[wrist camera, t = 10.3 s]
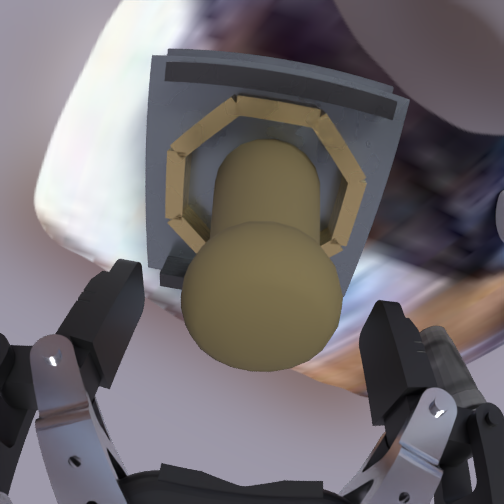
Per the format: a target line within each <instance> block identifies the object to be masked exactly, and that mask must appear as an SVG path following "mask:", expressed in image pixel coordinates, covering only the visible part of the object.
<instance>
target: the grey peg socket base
mask: <svg viewBox="0 0 504 504" xmlns="http://www.w3.org/2000/svg"><path fill="white" fill-rule="evenodd" d="M392 92H393V87H392V86H389V85H386V84H383V83H379V82H376V81H373V80H369V79H366V78H363V77H359V76H355V75H352V74H348V73H344V72H340V71H336V70H332V69H328V68H324V67H319V66H315V65H310V64H305V63H300V62H295V61H289V60H284V59H278V58H272V57H265V56H258V55H250V54H242V53H233V52H222V51H210V50H193V49H168V54H167V56H158V55H152V61H151V72H150V83H149V97H148V113H147V134H146V233H147V255H148V267H149V268H155V269H161V272H160V286H164V287H170V288H175V289H181V290H182V287H183V281H184V276H185V274H186V271H187V269H188V266H189V264H190V263H191V261H192V260H193V258H194V257H195V255H196V254H197V253H198V251H199V250H200V248H201V247H202V246H203V245H204V244H205V243H206V242H207V241H208V240H209V239H210V230H211V218H212V207H213V196H214V186H215V180H216V176H217V172H218V168H219V167H220V165H221V164H222V162H223V161H224V159H225V158H226V156H227V155H228V154H229V153H230V152H232V151H233V150H234V149H236V148H237V147H238V146H240V145H241V144H244V143H247V142H250V141H253V140H256V139H277V140H280V141H284V142H287V143H290V144H292V145H294V146H295V147H297V148H298V149H300V150H301V151H302V152H304V153H305V154H306V155H307V156H308V158H309V159H310V160H311V162H312V163H313V164H314V166H315V167H316V171H317V174H318V177H319V181H320V246H321V247H322V249H323V250H324V251H325V253H326V254H327V255H328V257H329V258H330V259H331V261H332V262H333V264H334V265H335V267H336V271H337V274H338V278H339V282H340V286H341V290H342V295H343V297H344V296H345V293H346V291H347V289H348V286H349V284H350V281H351V279H352V276H353V274H354V271H355V269H356V266H357V264H358V261H359V259H360V256H361V253H362V251H363V248H364V246H365V243H366V240H367V237H368V235H369V232H370V229H371V226H372V224H373V221H374V218H375V215H376V212H377V209H378V206H379V203H380V201H381V198H382V194H383V191H384V188H385V185H386V182H387V179H388V176H389V173H390V169H391V166H392V163H393V159H394V156H395V153H396V149H397V146H398V142H399V139H400V135H401V131H402V128H403V124H404V120H405V116H406V112H407V108H408V104H409V99H406V98H403V97H400V96H397V95H394V94H392Z"/></svg>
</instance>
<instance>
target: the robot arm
mask: <svg viewBox="0 0 504 504" xmlns="http://www.w3.org/2000/svg"><path fill="white" fill-rule="evenodd" d="M144 301H145V296H144V285H143V274H142V265H141V263H140V262H135V261H129V260H124V259H118V260H117V261H116V263H115V264H114V266H113V267H112V269H111V270H110V272H106V271H102V272H101V273H99V274H98V275H96V276H95V277H94V278H92V279H91V280H90V282H89V283H88V285H87V286H86V287H85V289H84V292H82V294H81V295H80V296H79V298H78V301H76V303H75V304H74V306H73V307H72V308H71V310H70V312H69V313H68V315H67V316H66V318H65V319H64V321H63V323H62V324H61V326H60V327H59V329H58V331H57V332H56V334H52V335H47V336H44V337H43V338H40V339H39V340H38V341H37V342H36V343H35V344H34V345H33V346H17V345H10V344H9V342H8V340H7V339H6V337H5V336H4V335H3V334H1V333H0V504H12V502H11V500H10V498H9V497H8V494H9V490H10V486H11V483H12V479H13V476H14V472H15V469H16V466H17V463H18V460H19V457H20V454H21V451H22V448H23V445H24V442H25V439H26V436H27V434H28V431H29V428H30V426H31V423H32V420H33V418H34V415H35V413H36V410H39V418H38V419H36V421H35V428H36V433H37V437H38V441H39V445H40V449H41V453H42V456H43V460H44V463H45V466H46V470H47V473H48V476H49V479H50V483H51V486H52V488H53V491H54V494H55V497H56V499H57V502H58V504H430V502H431V499H432V498H433V495H434V504H504V416H503V414H502V412H501V410H500V409H499V408H498V407H497V406H496V405H494V404H492V403H487V402H486V403H483V404H481V405H480V406H479V407H478V408H477V409H475V410H474V411H473V410H470V409H466V408H462V407H458V406H456V403H455V401H454V399H453V397H452V396H451V395H450V394H449V393H448V392H446V391H445V390H443V389H440V388H438V386H437V382H436V379H435V376H434V373H433V370H432V367H431V364H430V361H429V358H428V355H427V353H425V351H426V350H425V347H424V344H423V343H422V339H421V336H420V333H419V331H418V329H417V327H416V326H415V325H414V324H413V322H412V321H411V320H410V319H409V318H405V316H404V313H403V310H402V308H401V305H400V304H399V303H398V302H390V301H382V300H378V301H377V302H376V303H375V305H374V307H373V309H372V311H371V313H370V315H369V317H368V319H367V321H366V323H365V325H364V327H363V328H362V331H361V333H360V338H359V348H360V354H361V359H362V364H363V369H364V375H365V380H366V386H367V392H368V398H369V404H370V411H371V417H372V424H373V426H377V425H379V426H380V425H385V432H384V433H383V434H382V436H381V437H380V439H379V441H378V442H377V444H376V446H375V447H374V449H373V450H372V452H371V453H370V455H369V456H368V458H367V459H366V461H365V462H364V464H363V465H362V467H361V468H360V470H359V471H358V473H357V474H356V475H355V476H354V477H353V479H352V480H351V481H350V482H349V483H348V484H347V485H346V486H345V487H344V488H343V489H342V490H341V491H340V493H339V494H336V493H333V492H330V491H327V490H324V489H323V481H285V480H284V481H279V482H273V483H267V484H260V485H254V486H239V485H236V484H233V483H230V482H227V481H225V480H222V479H220V478H217V477H214V476H212V475H209V474H207V473H204V472H202V471H197V470H192V469H187V468H181V467H177V466H172V465H167V464H163V463H162V464H161V468H160V470H154V471H144V472H140V473H135V474H132V475H128V473H127V471H126V469H125V467H124V464H123V462H122V461H121V459H120V456H119V454H118V452H117V451H116V449H115V447H114V444H113V442H112V440H111V437H110V435H109V433H108V430H107V427H106V425H105V422H104V419H103V417H102V414H101V411H100V408H99V405H98V403H97V400H96V397H95V394H96V392H97V389H98V387H99V386H101V387H104V388H108V389H110V387H111V385H112V382H113V380H114V377H115V374H116V372H117V370H118V367H119V365H120V363H121V360H122V358H123V355H124V353H125V350H126V349H127V346H128V344H129V341H130V339H131V337H132V335H133V332H134V330H135V328H136V326H137V323H138V321H139V319H140V317H141V314H142V312H143V307H144ZM472 456H473V460H474V466H475V472H476V478H477V484H476V488H475V490H474V491H473V492H472V487H471V480H470V473H469V467H468V462H467V460H468V459H469V458H471V457H472Z"/></svg>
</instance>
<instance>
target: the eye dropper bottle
mask: <svg viewBox="0 0 504 504" xmlns="http://www.w3.org/2000/svg"><path fill="white" fill-rule="evenodd" d="M496 227H497V231H498V234H499V236H500V238H501V240H502V241H503V242H504V190H503V191H502V192H501V193H500V195H499V197H498V201H497V206H496Z"/></svg>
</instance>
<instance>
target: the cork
mask: <svg viewBox="0 0 504 504" xmlns="http://www.w3.org/2000/svg"><path fill="white" fill-rule="evenodd" d="M342 300H343V295H342V290H341V286H340V282H339V278H338V274H337V271H336V267H335V265H334V264H333V262H332V261H331V259H330V258H329V257H328V255H327V254H326V253H325V251H324V250H323V249H322V247H321V246H320V181H319V177H318V174H317V171H316V167H315V166H314V164H313V163H312V162H311V160H310V159H309V158H308V156H307V155H306V154H305V153H304V152H302V151H301V150H300V149H298V148H297V147H295V146H294V145H292V144H290V143H287V142H284V141H280V140H277V139H256V140H253V141H250V142H247V143H244V144H241V145H240V146H238V147H237V148H236V149H234V150H233V151H232V152H230V153H229V154H228V155H227V156H226V158H225V159H224V161H223V162H222V164H221V165H220V167H219V168H218V172H217V176H216V180H215V186H214V196H213V207H212V218H211V230H210V239H209V240H208V241H207V242H206V243H205V244H204V245H203V246H202V247H201V248H200V250H199V251H198V253H197V254H196V255H195V257H194V258H193V260H192V261H191V263H190V264H189V266H188V269H187V271H186V274H185V276H184V281H183V287H182V292H181V309H182V313H183V317H184V321H185V325H186V327H187V329H188V331H189V333H190V335H191V336H192V338H193V339H194V341H195V342H196V343H197V344H198V346H199V347H200V349H201V350H203V351H204V352H205V353H207V354H208V355H209V356H211V357H212V358H214V359H215V360H217V361H219V362H221V363H224V364H226V365H228V366H230V367H233V368H238V369H243V370H247V371H260V372H271V371H278V370H284V369H289V368H293V367H295V366H297V365H300V364H302V363H305V362H307V361H309V360H310V359H312V358H313V357H314V356H315V355H317V354H318V353H319V352H321V351H322V350H323V348H324V347H325V346H326V344H327V343H328V341H329V340H330V338H331V337H332V335H333V334H334V332H335V330H336V329H337V327H338V324H339V319H340V314H341V309H342Z"/></svg>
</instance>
